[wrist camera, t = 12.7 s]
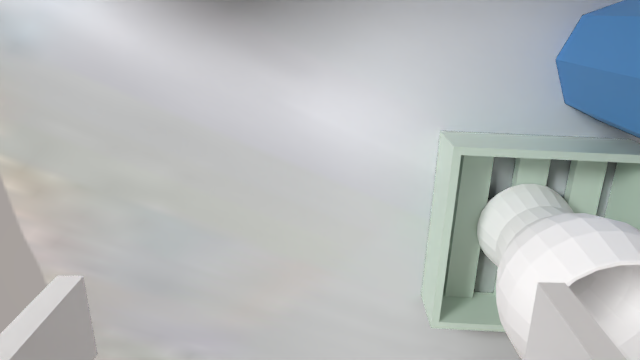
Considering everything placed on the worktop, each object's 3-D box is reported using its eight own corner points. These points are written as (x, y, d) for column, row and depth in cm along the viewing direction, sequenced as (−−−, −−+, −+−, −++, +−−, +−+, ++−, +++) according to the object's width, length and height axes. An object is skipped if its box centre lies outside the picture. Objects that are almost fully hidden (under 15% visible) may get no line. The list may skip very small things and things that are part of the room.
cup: (603, 257, 43) (735, 380, 29) (482, 299, 44) (550, 435, 30) (569, 145, 40) (698, 221, 26) (441, 195, 41) (495, 292, 27)
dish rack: (440, 130, 41) (453, 146, 36) (630, 139, 40) (669, 156, 36) (421, 295, 46) (430, 328, 41) (590, 303, 45) (620, 337, 41)
